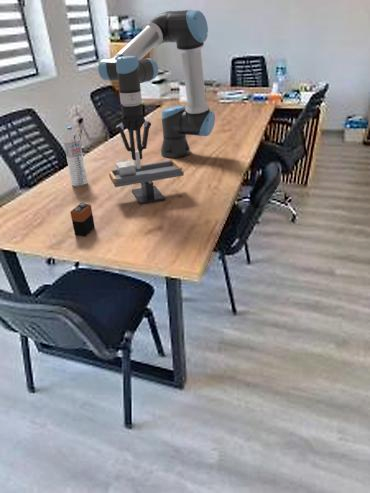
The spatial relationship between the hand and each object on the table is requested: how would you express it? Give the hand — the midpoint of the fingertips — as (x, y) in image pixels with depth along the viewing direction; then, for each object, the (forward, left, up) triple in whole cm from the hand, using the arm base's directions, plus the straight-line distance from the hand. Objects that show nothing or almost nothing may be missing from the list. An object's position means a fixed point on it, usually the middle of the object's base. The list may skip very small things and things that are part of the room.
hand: (138, 167), depth 155 cm
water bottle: (+21, -26, -13) cm, 36 cm away
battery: (+25, +20, -13) cm, 35 cm away
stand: (-3, 0, -13) cm, 13 cm away
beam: (-3, 0, -5) cm, 5 cm away
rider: (+5, 0, -3) cm, 6 cm away
